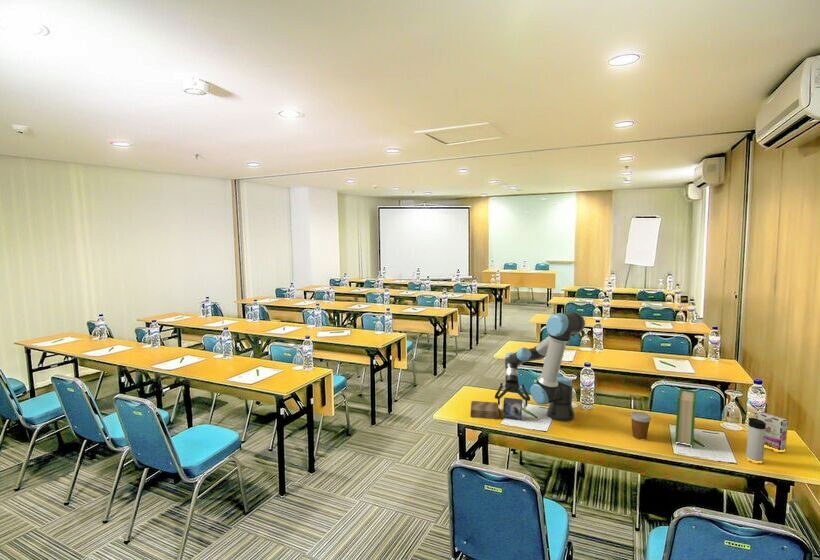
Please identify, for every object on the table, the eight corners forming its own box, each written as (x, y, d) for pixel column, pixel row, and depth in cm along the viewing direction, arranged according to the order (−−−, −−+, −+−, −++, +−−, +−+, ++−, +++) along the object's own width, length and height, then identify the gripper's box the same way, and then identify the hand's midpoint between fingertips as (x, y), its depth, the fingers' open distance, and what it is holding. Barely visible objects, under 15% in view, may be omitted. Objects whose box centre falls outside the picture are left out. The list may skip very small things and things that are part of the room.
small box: (502, 418, 246) (503, 400, 245) (503, 414, 252) (504, 397, 251) (521, 420, 243) (522, 403, 242) (522, 416, 249) (522, 399, 248)
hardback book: (692, 448, 211) (695, 401, 209) (675, 444, 215) (677, 398, 213) (693, 435, 226) (696, 391, 224) (677, 432, 230) (679, 388, 228)
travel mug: (742, 456, 203) (745, 416, 201) (759, 458, 201) (762, 417, 200) (748, 463, 197) (751, 421, 195) (765, 465, 195) (769, 423, 194)
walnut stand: (497, 408, 261) (497, 402, 260) (498, 419, 245) (498, 412, 245) (471, 406, 263) (471, 400, 263) (470, 417, 248) (470, 410, 247)
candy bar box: (786, 452, 208) (788, 419, 207) (779, 454, 206) (782, 421, 205) (760, 442, 218) (762, 411, 217) (754, 443, 217) (756, 412, 215)
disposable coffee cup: (651, 442, 217) (652, 419, 216) (630, 439, 220) (631, 417, 219) (648, 434, 226) (649, 412, 225) (628, 432, 229) (629, 410, 228)
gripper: (532, 381, 260) (534, 414, 246) (490, 378, 264) (490, 411, 250) (533, 375, 254) (535, 409, 240) (491, 373, 258) (490, 406, 245)
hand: (512, 410), depth 245 cm, fingers open, 13 cm apart
